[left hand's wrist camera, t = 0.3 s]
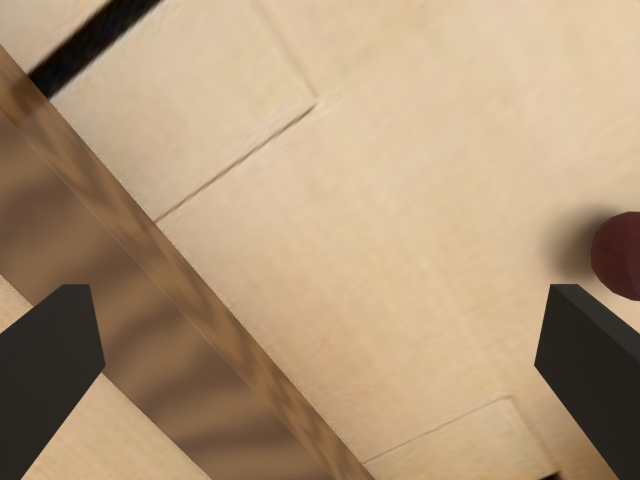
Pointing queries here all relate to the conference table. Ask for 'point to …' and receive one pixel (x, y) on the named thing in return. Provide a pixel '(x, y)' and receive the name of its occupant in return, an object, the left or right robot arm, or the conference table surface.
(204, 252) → the conference table surface
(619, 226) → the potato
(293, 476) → the slab
